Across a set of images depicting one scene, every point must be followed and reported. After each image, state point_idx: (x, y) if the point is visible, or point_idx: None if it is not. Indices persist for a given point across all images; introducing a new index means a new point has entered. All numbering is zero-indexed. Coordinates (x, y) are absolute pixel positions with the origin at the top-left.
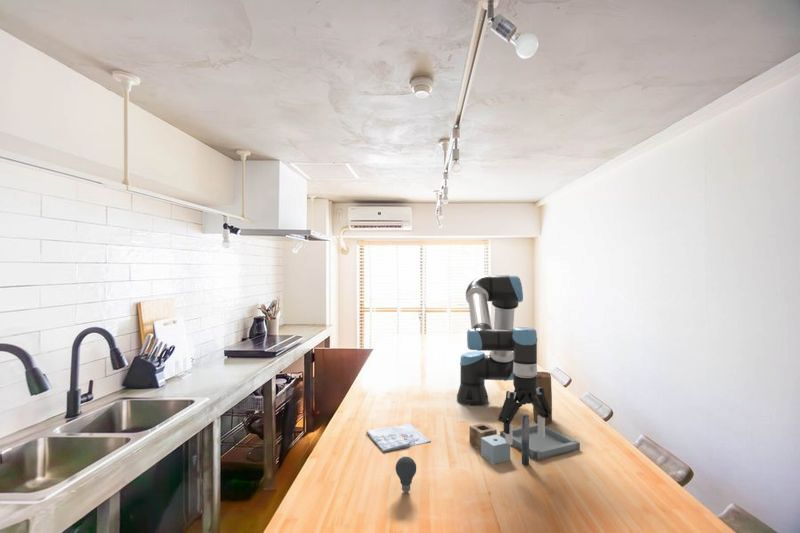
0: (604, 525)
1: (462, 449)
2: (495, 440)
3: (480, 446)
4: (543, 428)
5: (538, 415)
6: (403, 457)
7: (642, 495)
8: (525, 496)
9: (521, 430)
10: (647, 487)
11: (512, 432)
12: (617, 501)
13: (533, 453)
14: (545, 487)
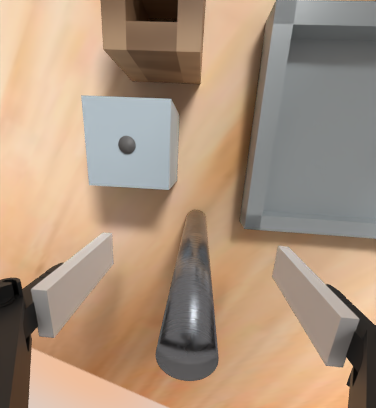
0: (161, 402)
1: (76, 45)
2: (121, 152)
3: (128, 75)
4: (291, 307)
5: (348, 320)
6: None
7: (298, 397)
8: (100, 308)
9: (177, 264)
10: (337, 391)
11: (86, 297)
12: (240, 386)
13: (244, 210)
14: (159, 307)
